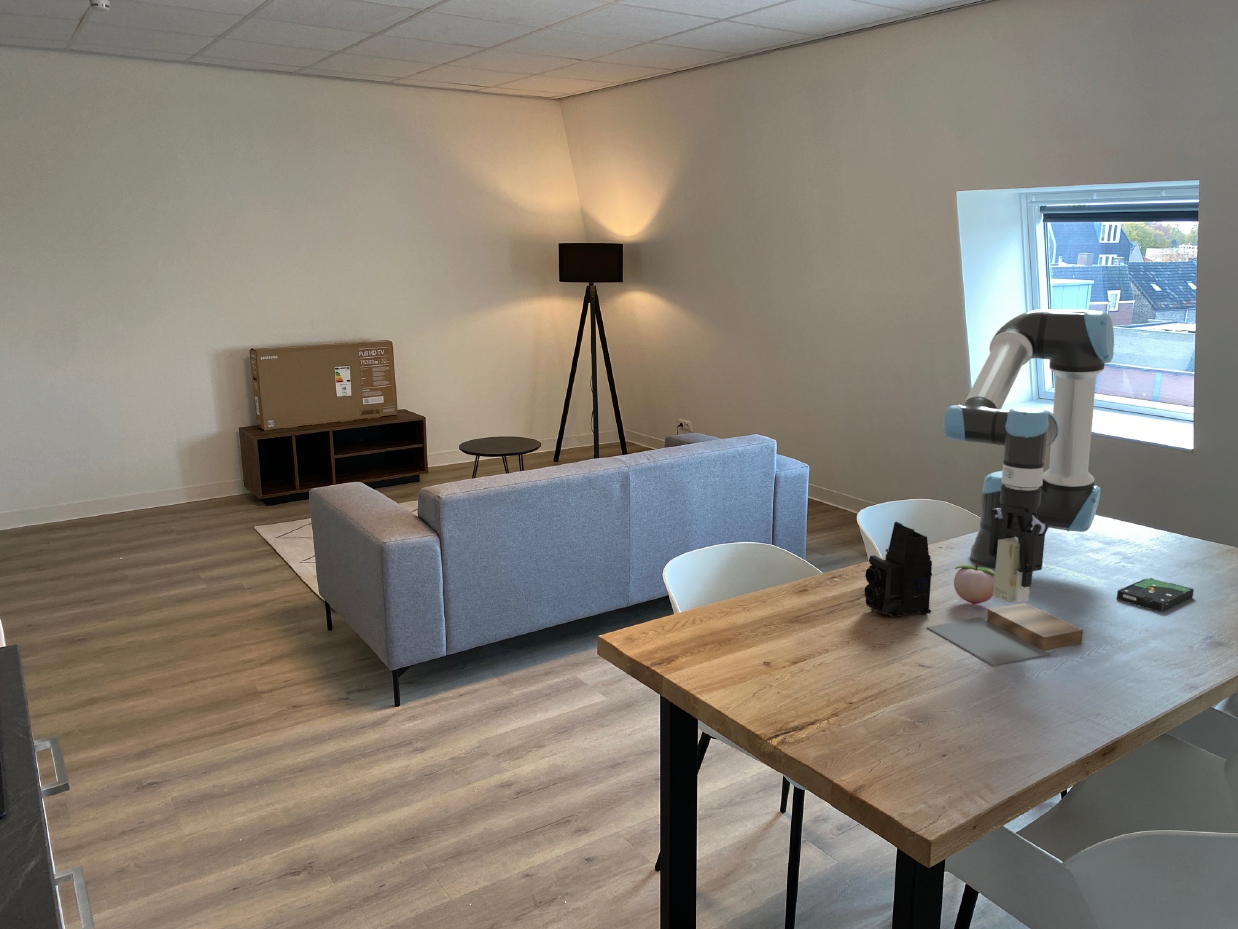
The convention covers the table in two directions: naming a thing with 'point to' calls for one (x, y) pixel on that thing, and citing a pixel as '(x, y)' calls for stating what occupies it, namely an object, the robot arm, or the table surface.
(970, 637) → the rubber mat
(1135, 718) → the table surface
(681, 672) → the table surface
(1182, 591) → the disk drive
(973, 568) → the decorative fruit
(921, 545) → the camera
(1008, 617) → the walnut ledge
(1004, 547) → the skincare box
